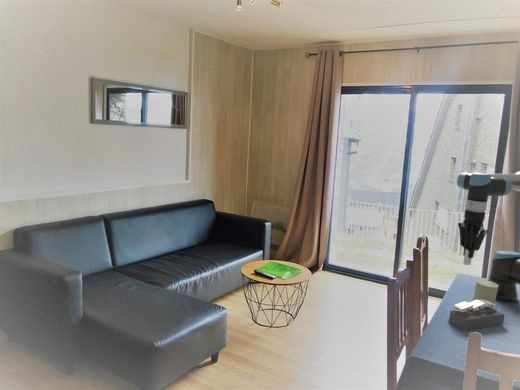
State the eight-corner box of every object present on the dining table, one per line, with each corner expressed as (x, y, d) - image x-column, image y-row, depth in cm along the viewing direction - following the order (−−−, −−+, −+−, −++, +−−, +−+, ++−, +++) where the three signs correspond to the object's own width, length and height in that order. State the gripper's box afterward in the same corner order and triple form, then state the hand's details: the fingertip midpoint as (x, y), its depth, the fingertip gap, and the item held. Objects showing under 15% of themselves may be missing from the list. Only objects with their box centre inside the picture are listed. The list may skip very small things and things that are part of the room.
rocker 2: (476, 302, 178) (476, 299, 177) (485, 307, 174) (485, 303, 173) (466, 307, 176) (466, 303, 176) (474, 311, 172) (474, 308, 172)
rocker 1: (464, 304, 175) (464, 300, 175) (473, 309, 171) (473, 305, 171) (453, 308, 173) (453, 304, 173) (462, 312, 169) (462, 309, 169)
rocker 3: (487, 304, 181) (488, 300, 181) (496, 309, 177) (497, 305, 177) (478, 302, 178) (479, 298, 178) (486, 306, 174) (488, 303, 174)
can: (496, 312, 188) (501, 287, 186) (475, 309, 190) (479, 284, 188) (490, 304, 197) (494, 280, 195) (469, 300, 199) (473, 277, 196)
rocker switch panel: (486, 316, 182) (488, 303, 181) (502, 325, 175) (505, 311, 174) (448, 321, 174) (450, 308, 173) (464, 331, 167) (466, 317, 166)
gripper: (455, 207, 176) (448, 259, 181) (482, 214, 164) (473, 270, 169) (468, 206, 179) (460, 258, 184) (495, 213, 167) (486, 268, 172)
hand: (466, 264), depth 176 cm, fingers closed
